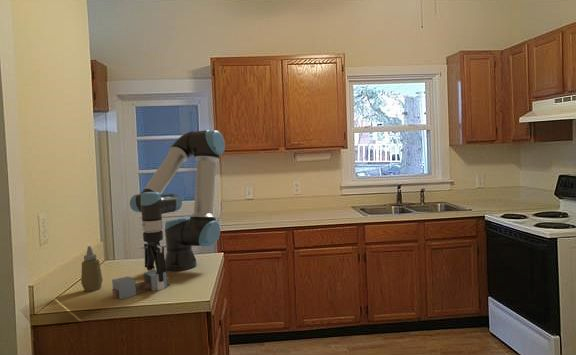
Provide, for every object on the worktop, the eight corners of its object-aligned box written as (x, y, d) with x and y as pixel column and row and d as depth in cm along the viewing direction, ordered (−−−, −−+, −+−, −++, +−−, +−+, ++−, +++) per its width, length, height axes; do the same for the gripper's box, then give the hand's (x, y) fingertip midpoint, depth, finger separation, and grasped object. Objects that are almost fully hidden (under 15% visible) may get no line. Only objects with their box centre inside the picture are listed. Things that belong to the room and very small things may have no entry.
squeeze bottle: (80, 294, 181) (76, 249, 180) (83, 288, 189) (80, 245, 188) (102, 291, 183) (98, 247, 182) (104, 286, 191) (101, 243, 190)
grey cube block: (159, 284, 188) (158, 269, 188) (167, 287, 182) (166, 272, 182) (143, 287, 184) (142, 273, 183) (150, 291, 178) (149, 276, 178)
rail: (167, 284, 188) (166, 276, 188) (170, 286, 186) (169, 277, 186) (112, 298, 174) (112, 289, 174) (115, 299, 172) (114, 290, 171)
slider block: (120, 299, 171) (119, 283, 170) (113, 295, 176) (112, 279, 176) (137, 294, 175) (136, 279, 175) (130, 290, 181) (129, 275, 180)
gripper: (133, 229, 188) (137, 284, 189) (154, 234, 172) (158, 294, 173) (151, 227, 192) (154, 280, 194) (172, 232, 177) (176, 290, 178)
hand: (156, 287), depth 183 cm, fingers closed on grey cube block, 7 cm apart
